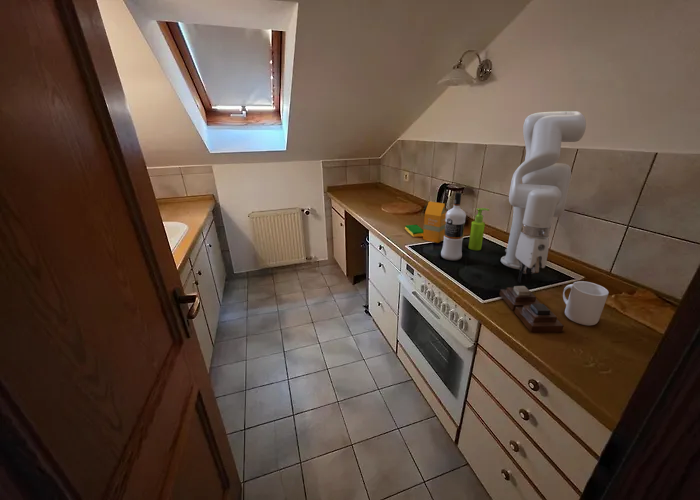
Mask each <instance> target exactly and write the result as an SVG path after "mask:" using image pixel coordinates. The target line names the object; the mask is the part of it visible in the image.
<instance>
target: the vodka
mask: <svg viewBox="0 0 700 500" xmlns="http://www.w3.org/2000/svg"><path fill="white" fill-rule="evenodd" d="M462 193H463V192H458V191H457V192H455V193H454V199H453V200H454V201H453V206H452V208H449V209H448V210H446V212H447V213H446V219H445V221H446V222H445V232H444V239H443V243H442V247H441V250H440V256H441V258H443V259H444V260H445V261H451V262H452V261H454V262H455V261H459V260H461V259H462V257H463V252H462V251H463V240H464V231H465V224H466V218H467V213H466V211H465V210H464V209H462V208H461V200H462Z"/></svg>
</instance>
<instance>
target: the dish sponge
mask: <svg viewBox="0 0 700 500" xmlns="http://www.w3.org/2000/svg"><path fill="white" fill-rule="evenodd" d="M404 227H405V228H404V230H405V231H406V232H407V233H408V234H410V236H412V237H413V238H415V237H416V238H418V237H423V232H424V228H422V227H421V226H420V225H418V224H405V226H404Z"/></svg>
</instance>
